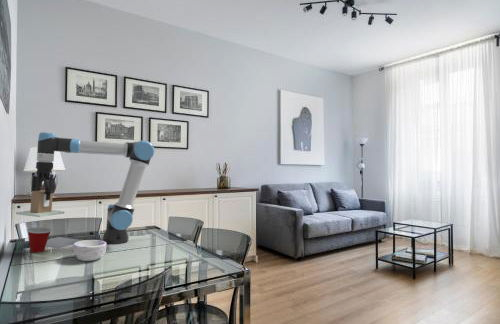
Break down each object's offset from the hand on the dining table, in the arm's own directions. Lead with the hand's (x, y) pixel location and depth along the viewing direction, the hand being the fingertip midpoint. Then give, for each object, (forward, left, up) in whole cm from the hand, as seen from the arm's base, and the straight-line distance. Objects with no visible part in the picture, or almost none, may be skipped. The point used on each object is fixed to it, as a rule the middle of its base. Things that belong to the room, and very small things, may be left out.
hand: (41, 205), depth 162 cm
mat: (+5, -18, -24) cm, 31 cm away
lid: (0, 0, -4) cm, 4 cm away
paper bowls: (-30, -2, -25) cm, 39 cm away
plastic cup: (0, 0, -24) cm, 24 cm away
